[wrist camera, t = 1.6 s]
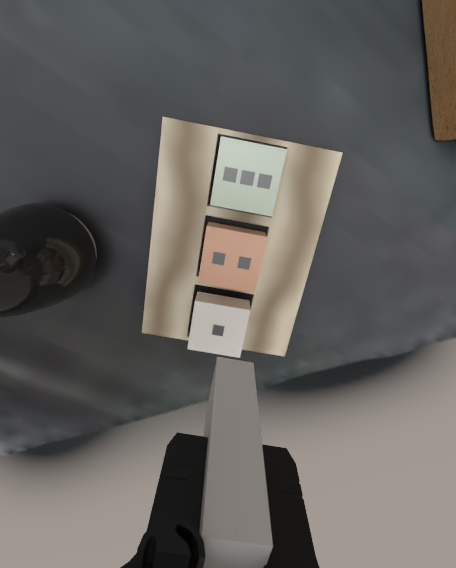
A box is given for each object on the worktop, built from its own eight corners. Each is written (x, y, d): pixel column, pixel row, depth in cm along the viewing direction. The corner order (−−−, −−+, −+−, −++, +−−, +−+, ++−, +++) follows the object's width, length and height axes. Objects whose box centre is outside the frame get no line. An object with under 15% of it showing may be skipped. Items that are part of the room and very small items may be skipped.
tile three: (211, 202, 32) (209, 205, 29) (221, 139, 30) (220, 136, 27) (268, 213, 32) (272, 216, 29) (282, 151, 30) (287, 149, 27)
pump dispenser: (128, 257, 36) (61, 313, 22) (63, 300, 38) (-38, 377, 24) (69, 180, 34) (-52, 186, 19) (2, 231, 36) (-153, 271, 21)
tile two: (200, 275, 35) (197, 283, 32) (208, 221, 32) (206, 226, 30) (252, 284, 35) (254, 293, 32) (264, 232, 33) (267, 237, 30)
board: (145, 326, 39) (141, 332, 38) (166, 119, 31) (162, 116, 30) (282, 350, 40) (284, 356, 39) (337, 153, 32) (342, 152, 31)
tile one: (190, 337, 37) (187, 349, 35) (197, 291, 35) (194, 301, 33) (239, 345, 38) (239, 358, 35) (249, 300, 35) (250, 310, 33)
